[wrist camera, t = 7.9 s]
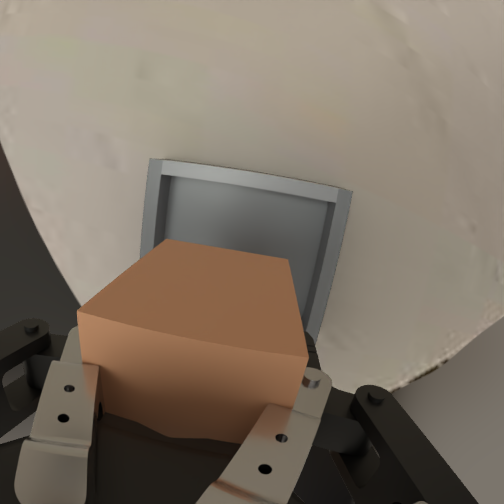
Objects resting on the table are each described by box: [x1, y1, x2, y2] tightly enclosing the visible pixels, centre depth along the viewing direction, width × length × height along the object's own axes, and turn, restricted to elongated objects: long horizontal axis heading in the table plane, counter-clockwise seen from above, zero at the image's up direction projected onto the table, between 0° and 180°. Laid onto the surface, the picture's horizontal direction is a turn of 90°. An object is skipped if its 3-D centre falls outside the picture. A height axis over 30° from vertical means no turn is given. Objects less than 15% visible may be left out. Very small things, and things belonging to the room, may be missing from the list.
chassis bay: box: [140, 159, 353, 344], centre depth 24 cm, size 14×12×4 cm
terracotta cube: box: [77, 239, 309, 444], centre depth 10 cm, size 5×6×7 cm
